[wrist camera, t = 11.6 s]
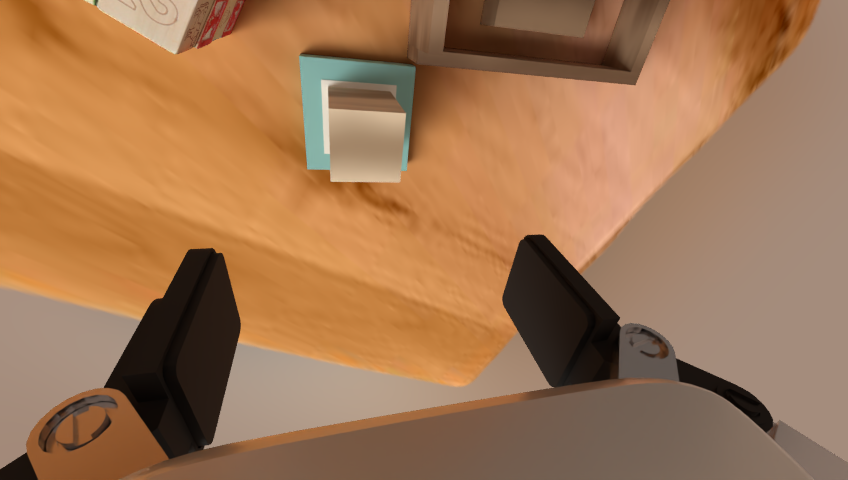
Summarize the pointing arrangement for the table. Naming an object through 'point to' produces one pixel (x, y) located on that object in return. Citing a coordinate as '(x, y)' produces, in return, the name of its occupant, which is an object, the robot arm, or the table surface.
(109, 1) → the stack of blocks
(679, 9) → the table surface
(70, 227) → the table surface
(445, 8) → the brown wooden tray
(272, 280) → the table surface
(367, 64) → the teal picture frame
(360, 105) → the beech block
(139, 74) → the table surface
